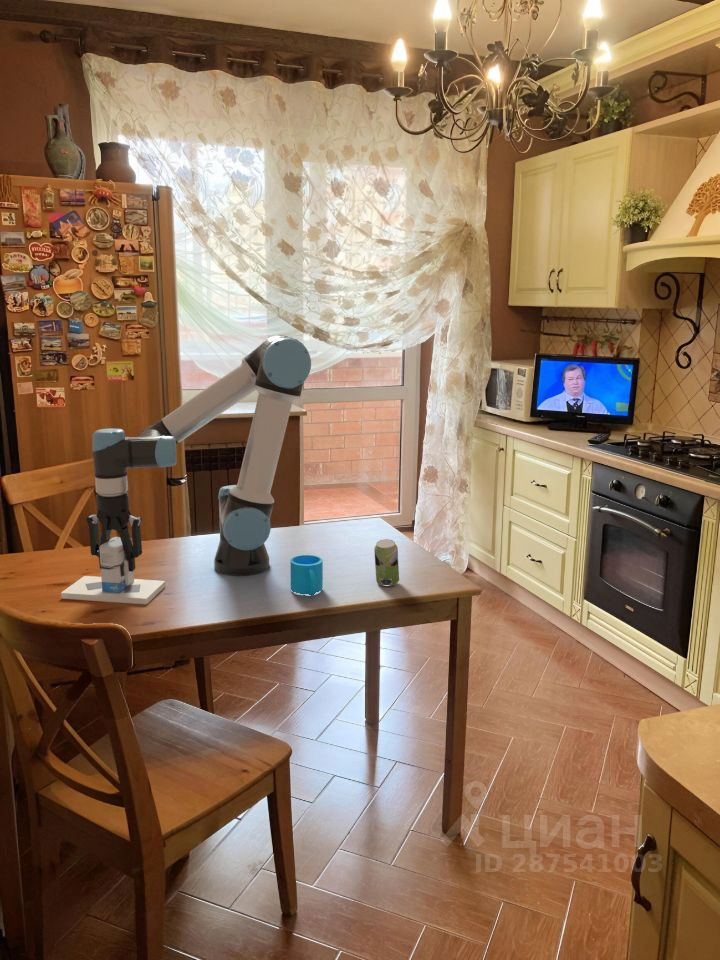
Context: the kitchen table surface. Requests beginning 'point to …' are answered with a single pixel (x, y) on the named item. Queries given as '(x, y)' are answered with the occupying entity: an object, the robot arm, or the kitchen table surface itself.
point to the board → (133, 593)
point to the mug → (306, 574)
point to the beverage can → (386, 562)
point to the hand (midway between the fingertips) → (118, 582)
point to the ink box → (113, 566)
